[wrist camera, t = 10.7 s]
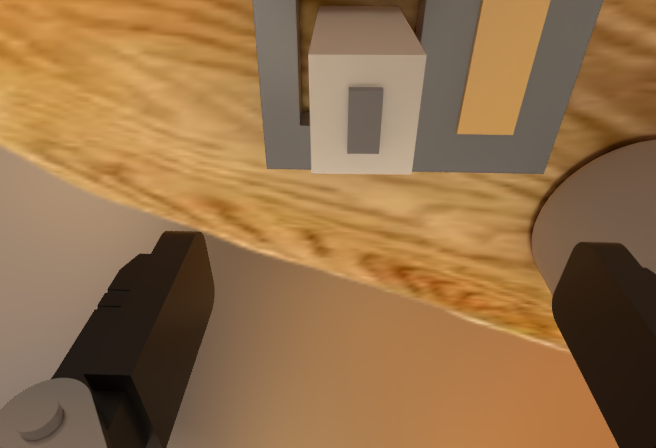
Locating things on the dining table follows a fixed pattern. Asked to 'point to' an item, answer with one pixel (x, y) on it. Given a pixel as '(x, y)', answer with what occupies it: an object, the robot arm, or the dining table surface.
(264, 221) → the dining table surface
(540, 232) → the cylinder vase
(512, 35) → the plate
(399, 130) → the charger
